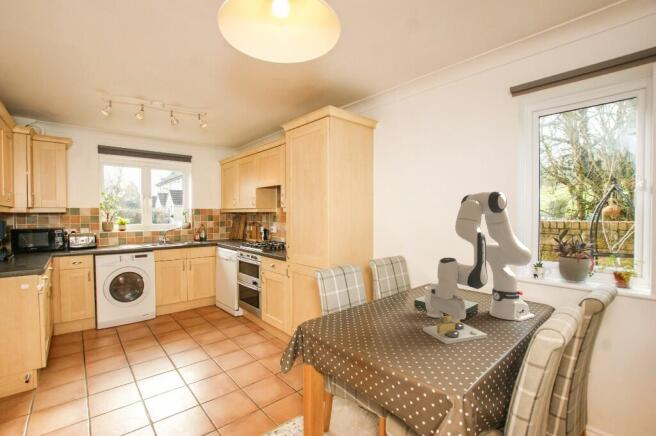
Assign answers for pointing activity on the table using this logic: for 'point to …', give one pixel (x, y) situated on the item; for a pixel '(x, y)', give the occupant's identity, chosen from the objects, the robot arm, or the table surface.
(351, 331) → the table surface
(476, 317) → the table surface
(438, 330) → the knob
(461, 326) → the knob
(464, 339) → the level plate
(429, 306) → the jar
